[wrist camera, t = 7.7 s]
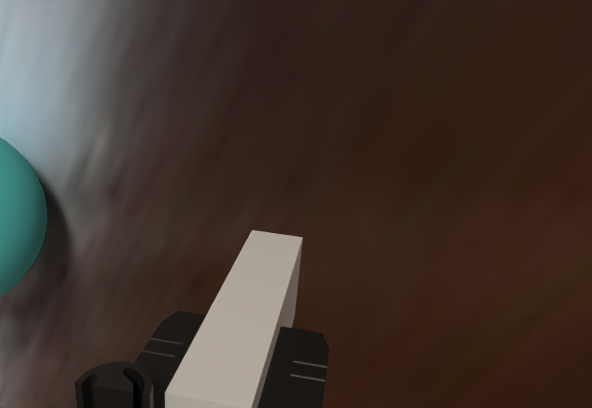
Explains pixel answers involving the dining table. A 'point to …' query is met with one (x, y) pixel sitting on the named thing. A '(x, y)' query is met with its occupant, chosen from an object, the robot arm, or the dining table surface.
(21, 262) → the ball
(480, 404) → the dining table surface
